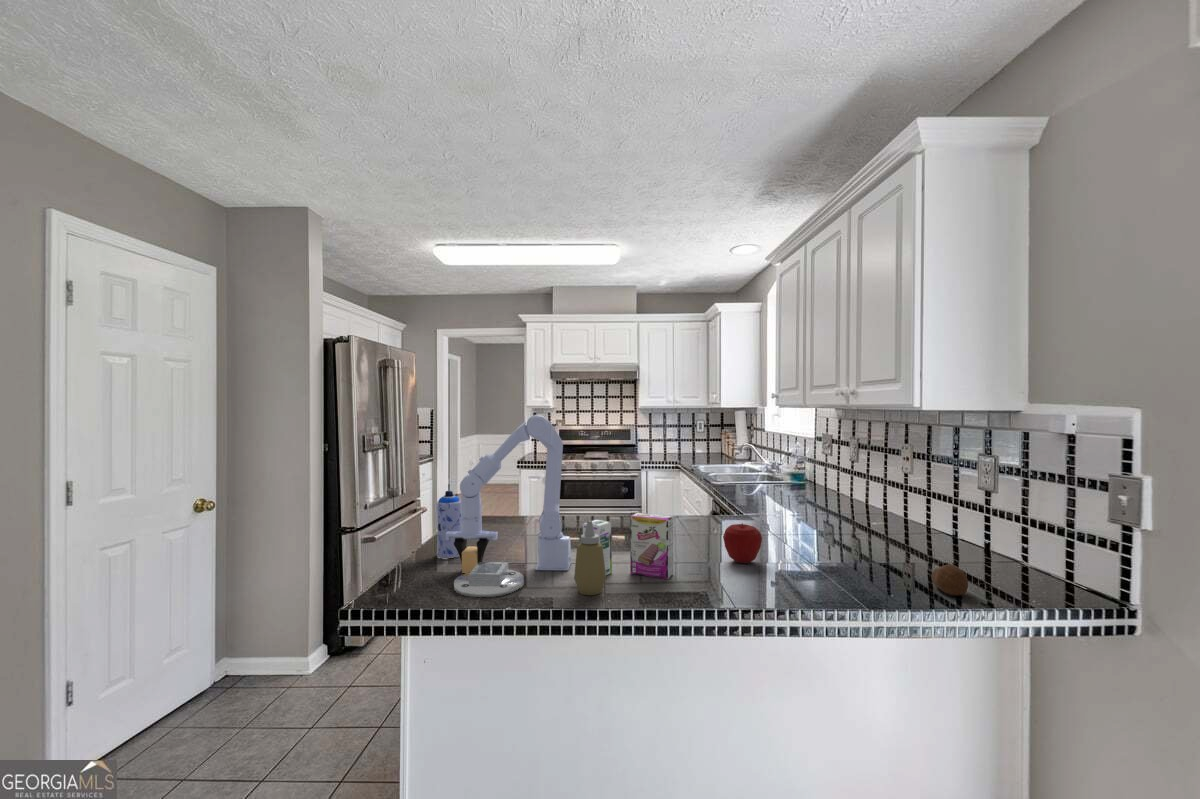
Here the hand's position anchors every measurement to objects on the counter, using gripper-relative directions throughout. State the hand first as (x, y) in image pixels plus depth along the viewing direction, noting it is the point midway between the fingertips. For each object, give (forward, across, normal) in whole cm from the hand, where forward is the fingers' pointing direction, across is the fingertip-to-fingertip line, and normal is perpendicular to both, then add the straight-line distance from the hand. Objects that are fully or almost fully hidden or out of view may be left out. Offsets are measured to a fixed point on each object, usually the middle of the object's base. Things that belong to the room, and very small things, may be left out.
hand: (472, 564), depth 163 cm
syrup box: (+2, +36, -2) cm, 36 cm away
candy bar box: (+2, +51, -2) cm, 51 cm away
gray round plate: (+2, +8, -12) cm, 15 cm away
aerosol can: (+2, -11, +14) cm, 18 cm away
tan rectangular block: (+2, 0, 0) cm, 2 cm away
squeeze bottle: (+2, +35, -16) cm, 39 cm away
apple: (+2, +78, +10) cm, 79 cm away
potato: (+2, +125, -13) cm, 126 cm away
